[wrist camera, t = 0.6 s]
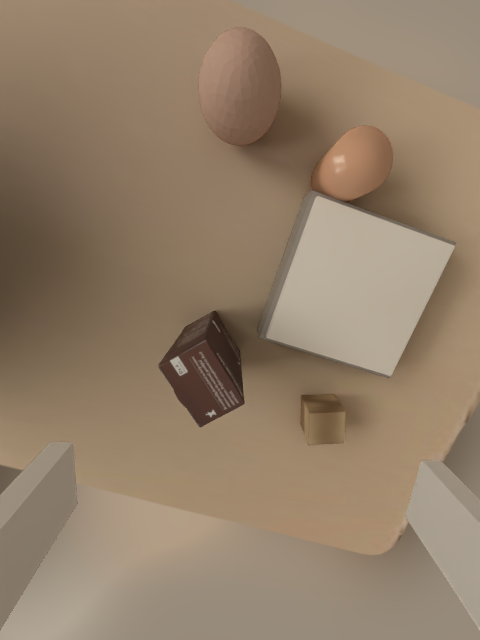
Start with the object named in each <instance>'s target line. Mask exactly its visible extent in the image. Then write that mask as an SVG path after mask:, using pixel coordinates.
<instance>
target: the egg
mask: <svg viewBox="0 0 480 640" xmlns="http://www.w3.org/2000/svg"><path fill="white" fill-rule="evenodd" d="M199 96H200V103H201V108H202V112H203V115H204V117H205V120H206V122H207V124H208V125H209V127H210V128H211V130H212V131H213V132H214V133H215V134H216V135H217V136H218V137H219V138H220V139H222V140H223V141H225V142H227V143H229V144H233V145H247V144H250V143H253V142H255V141H256V140H258V139H259V138H261V137H262V136H263V135H264V134H265V133H266V132H267V131H268V129H269V128H270V126H271V125H272V123H273V121H274V119H275V116H276V114H277V111H278V108H279V103H280V98H281V76H280V69H279V66H278V63H277V60H276V57H275V55H274V53H273V51H272V49H271V48H270V46H269V44H268V43H267V42H266V40H265V39H264V38H263V37H262V36H260V35H259V34H258V33H256V32H255V31H253V30H250V29H247V28H241V27H236V28H233V29H230V30H227V31H225V32H224V33H222V34H221V35H220V36H219V37H217V39H216V40H215V41H214V42H213V44H212V45H211V46H210V48H209V50H208V52H207V54H206V56H205V57H204V60H203V63H202V66H201V70H200V76H199Z"/></svg>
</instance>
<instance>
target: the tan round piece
mask: <svg viewBox="0 0 480 640" xmlns="http://www.w3.org/2000/svg"><path fill="white" fill-rule="evenodd" d="M392 161H393V152H392V147H391V144H390V141H389V140H388V138H387V137H386V135H385V134H384V133H383V132H382V131H380V130H379V129H377V128H375V127H372V126H358V127H355V128H353V129H351V130H349V131H348V132H346V133H345V134H344V135H343V136H342V137H341V138H340V139H339V140H338V141H337V142H336V143H335V145H334V146H333V147H332V148H331V149H330V150H329V151H328V152H327V153H326V155H325V156H324V157H323V158H322V159H321V160H320V161H319V162H318V163H317V165H316V166H315V168H314V170H313V173H312V177H311V188H312V190H313V191H316V192H318V193H321V194H324V195H327V196H329V197H332V198H335V199H338V200H340V201H343V202H346V203H347V202H350V201H352V200H354V199H356V198H358V197H361V196H363V195H365V194H367V193H369V192H372V191H373V190H375V189H377V188H378V187H379V186H380V185H381V184H382V183H383V182H384V181H385V180H386V178H387V176H388V174H389V172H390V170H391V167H392Z"/></svg>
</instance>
